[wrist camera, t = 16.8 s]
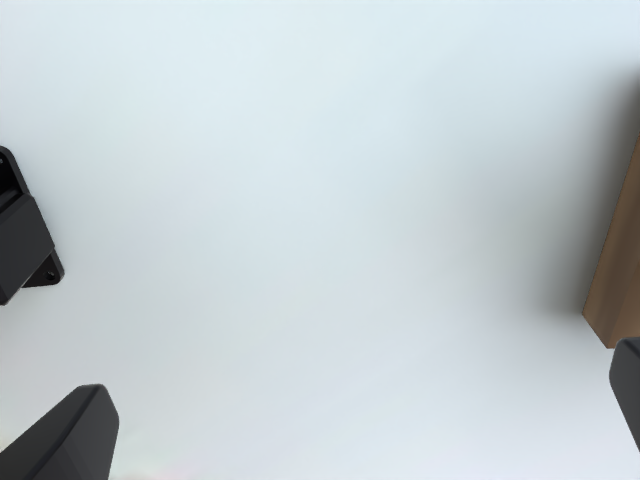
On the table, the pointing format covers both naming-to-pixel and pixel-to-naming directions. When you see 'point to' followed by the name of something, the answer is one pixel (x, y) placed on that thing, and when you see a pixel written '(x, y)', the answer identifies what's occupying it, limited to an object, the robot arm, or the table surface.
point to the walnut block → (619, 267)
